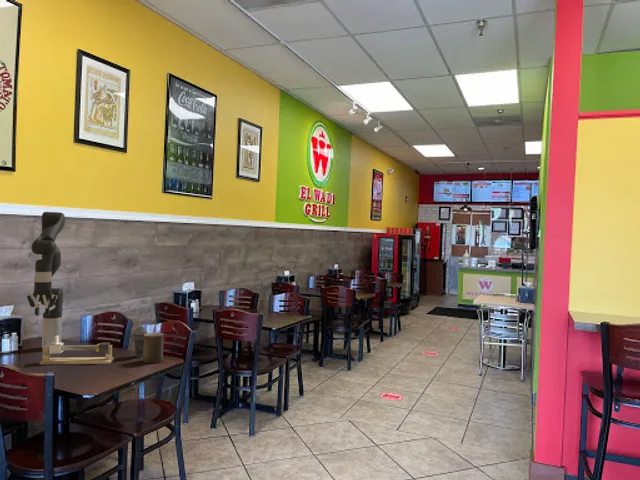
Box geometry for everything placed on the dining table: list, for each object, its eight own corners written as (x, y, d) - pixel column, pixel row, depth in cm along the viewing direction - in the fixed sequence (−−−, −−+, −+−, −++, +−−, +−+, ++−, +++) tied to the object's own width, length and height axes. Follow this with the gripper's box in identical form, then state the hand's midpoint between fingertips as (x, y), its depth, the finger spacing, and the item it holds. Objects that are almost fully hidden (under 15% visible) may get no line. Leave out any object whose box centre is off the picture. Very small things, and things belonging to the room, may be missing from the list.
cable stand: (45, 360, 244) (46, 342, 244) (113, 359, 250) (113, 341, 250) (39, 364, 236) (40, 345, 236) (109, 363, 242) (110, 345, 242)
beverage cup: (142, 358, 254) (143, 320, 254) (129, 357, 255) (131, 319, 255) (150, 355, 261) (151, 318, 261) (137, 354, 262) (138, 317, 262)
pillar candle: (159, 363, 245) (160, 333, 245) (140, 363, 244) (141, 333, 244) (164, 359, 255) (166, 330, 255) (146, 358, 254) (147, 329, 254)
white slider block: (52, 351, 243) (52, 335, 243) (63, 351, 244) (63, 335, 244) (49, 353, 238) (49, 337, 238) (60, 353, 239) (60, 337, 239)
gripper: (61, 280, 245) (60, 314, 245) (30, 279, 242) (29, 314, 242) (55, 281, 237) (54, 317, 237) (24, 281, 235) (23, 316, 235)
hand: (42, 315), depth 240 cm, fingers open, 3 cm apart
